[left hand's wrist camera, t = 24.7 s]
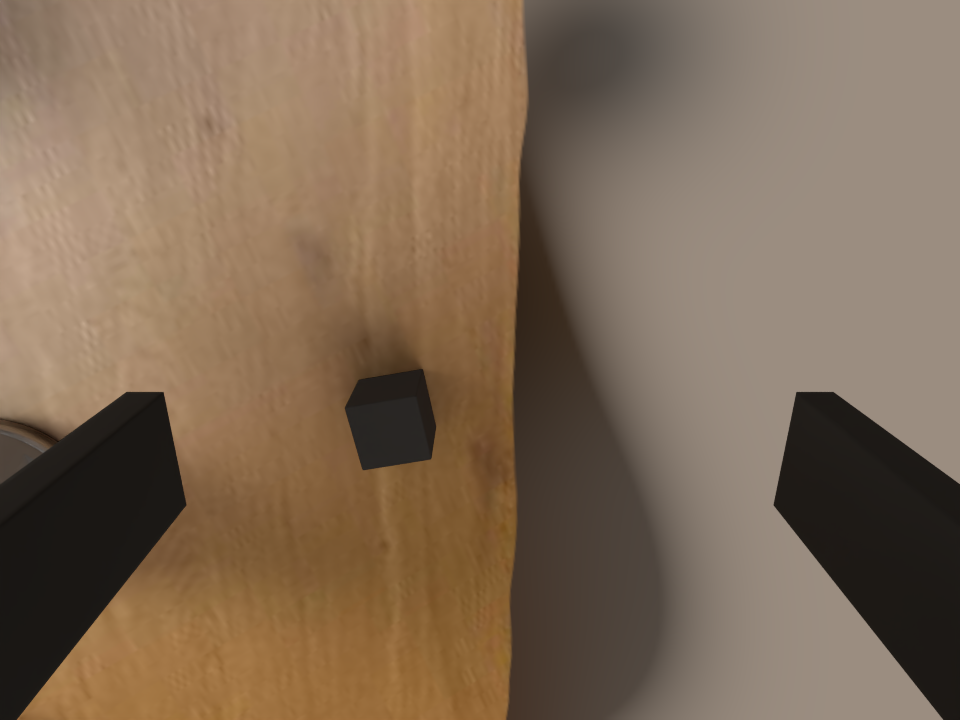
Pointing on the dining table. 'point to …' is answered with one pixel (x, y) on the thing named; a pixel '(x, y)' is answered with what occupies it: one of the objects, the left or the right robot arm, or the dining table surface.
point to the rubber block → (392, 419)
